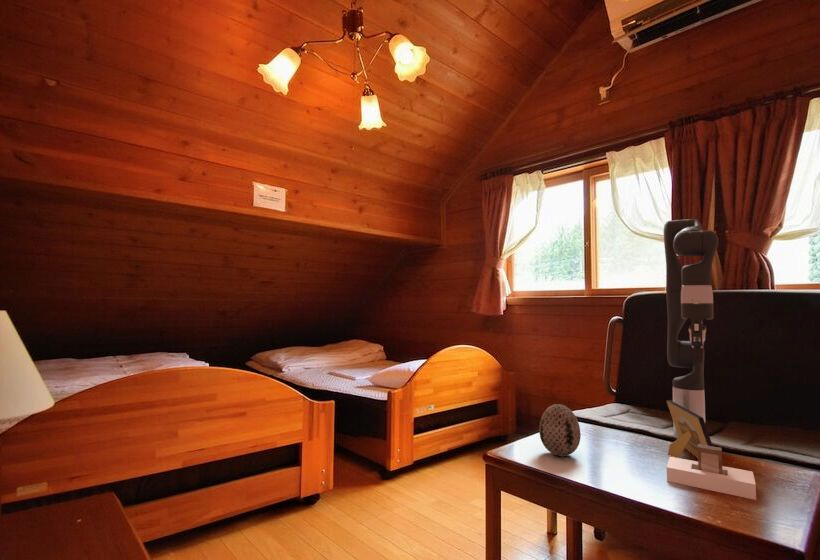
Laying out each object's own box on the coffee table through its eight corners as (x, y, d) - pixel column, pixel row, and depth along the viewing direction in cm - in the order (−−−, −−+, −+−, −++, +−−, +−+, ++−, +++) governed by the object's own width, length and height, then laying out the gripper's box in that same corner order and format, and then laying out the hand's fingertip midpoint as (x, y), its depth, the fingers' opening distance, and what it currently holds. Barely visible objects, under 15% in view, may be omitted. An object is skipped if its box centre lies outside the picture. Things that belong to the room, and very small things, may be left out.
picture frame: (722, 473, 117) (713, 417, 118) (685, 474, 119) (677, 418, 120) (686, 446, 140) (679, 399, 141) (656, 447, 141) (649, 401, 143)
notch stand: (670, 469, 120) (669, 456, 120) (753, 485, 109) (752, 471, 109) (666, 481, 111) (666, 467, 112) (756, 499, 101) (755, 484, 101)
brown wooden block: (698, 475, 113) (698, 444, 113) (722, 480, 110) (721, 447, 111) (698, 479, 110) (697, 447, 111) (722, 483, 108) (721, 451, 108)
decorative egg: (552, 463, 123) (552, 409, 124) (532, 449, 134) (532, 400, 135) (589, 460, 125) (588, 408, 126) (566, 447, 137) (566, 399, 138)
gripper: (682, 302, 129) (683, 357, 128) (679, 301, 117) (680, 362, 116) (713, 302, 124) (714, 359, 123) (713, 301, 113) (714, 364, 112)
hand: (698, 360), depth 120 cm, fingers open, 8 cm apart
